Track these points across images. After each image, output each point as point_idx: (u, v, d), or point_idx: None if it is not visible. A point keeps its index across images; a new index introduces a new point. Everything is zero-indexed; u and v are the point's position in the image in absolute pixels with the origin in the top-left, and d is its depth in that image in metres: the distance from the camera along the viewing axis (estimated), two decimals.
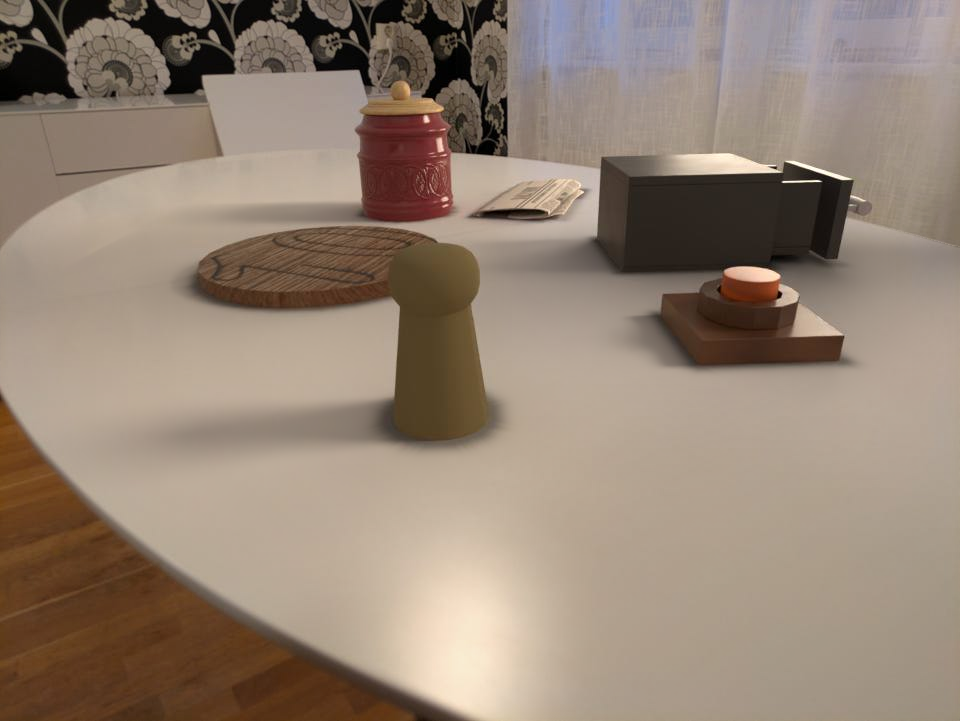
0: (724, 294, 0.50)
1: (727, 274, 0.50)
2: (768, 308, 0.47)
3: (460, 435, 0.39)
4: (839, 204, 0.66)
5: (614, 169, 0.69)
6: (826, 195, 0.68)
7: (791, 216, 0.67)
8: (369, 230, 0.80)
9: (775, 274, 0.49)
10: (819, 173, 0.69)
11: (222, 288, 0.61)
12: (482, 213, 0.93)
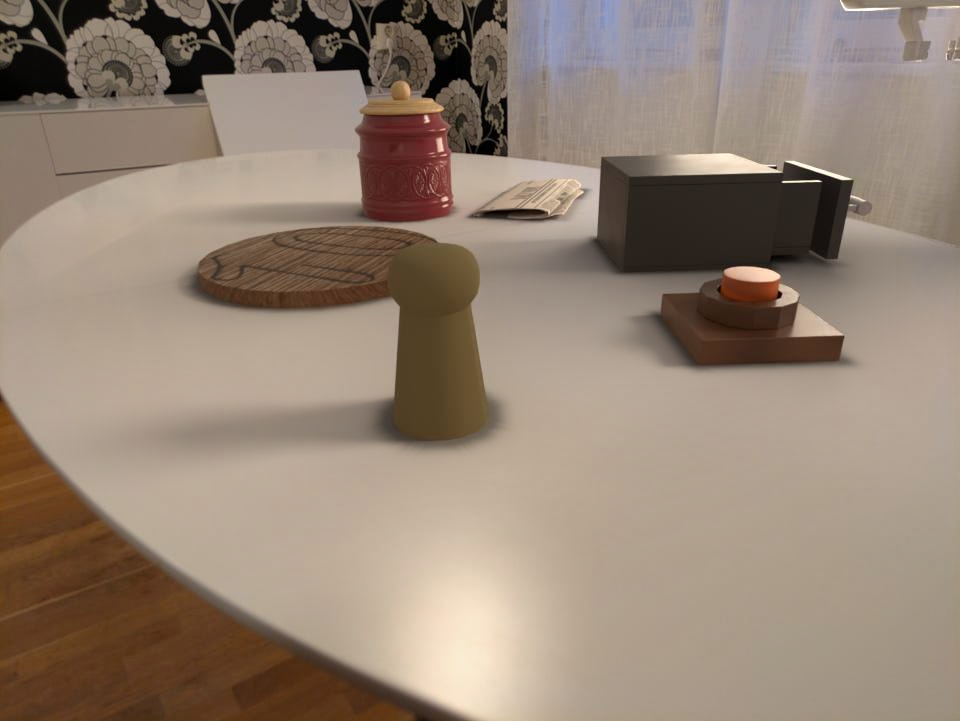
0: (724, 294, 0.50)
1: (727, 274, 0.50)
2: (768, 308, 0.47)
3: (460, 435, 0.39)
4: (839, 204, 0.66)
5: (614, 169, 0.69)
6: (826, 195, 0.68)
7: (791, 216, 0.67)
8: (369, 230, 0.80)
9: (775, 274, 0.49)
10: (819, 173, 0.69)
11: (222, 288, 0.61)
12: (482, 213, 0.93)
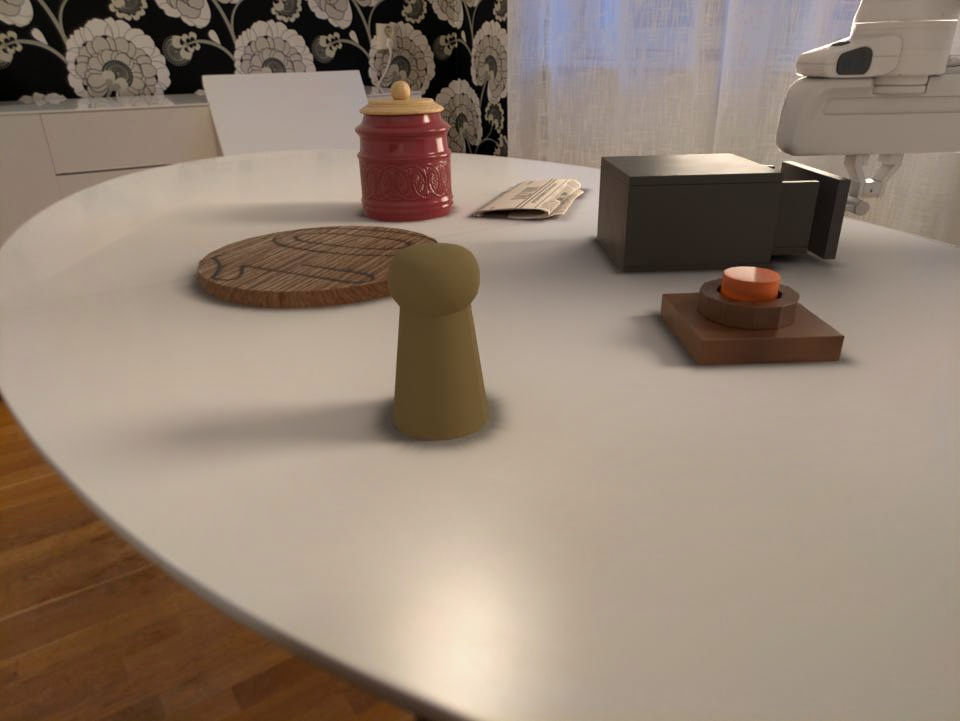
0: (724, 294, 0.50)
1: (727, 274, 0.50)
2: (768, 308, 0.47)
3: (460, 435, 0.39)
4: (837, 204, 0.66)
5: (614, 169, 0.69)
6: (823, 195, 0.68)
7: (788, 216, 0.67)
8: (369, 230, 0.79)
9: (775, 274, 0.49)
10: (817, 173, 0.69)
11: (222, 287, 0.61)
12: (482, 213, 0.93)
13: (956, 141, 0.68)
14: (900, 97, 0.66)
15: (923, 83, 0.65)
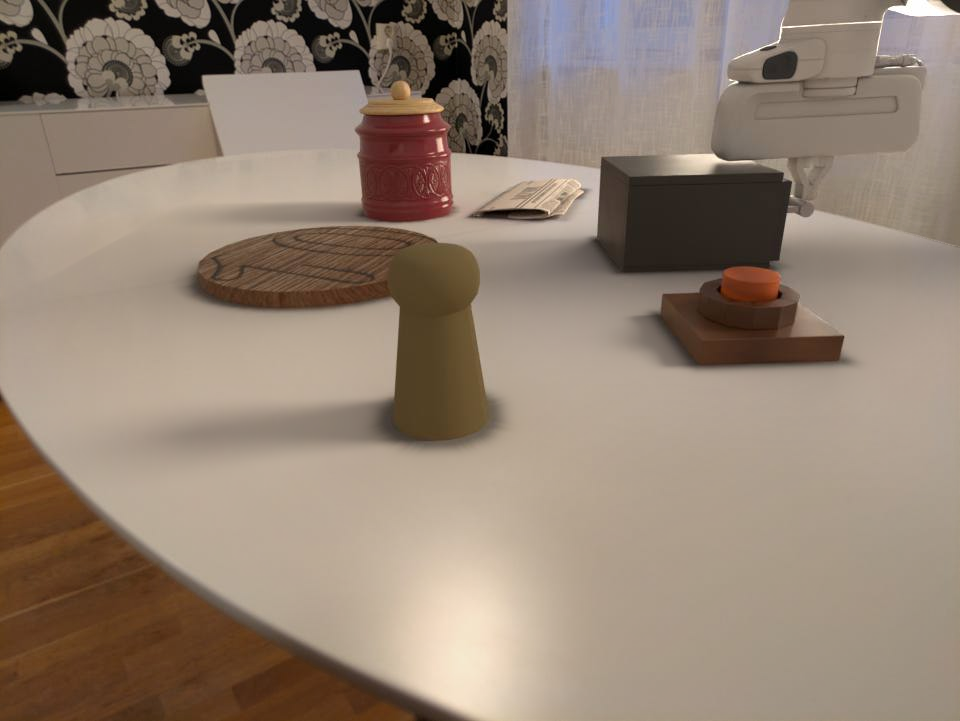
0: (724, 294, 0.50)
1: (727, 274, 0.50)
2: (768, 308, 0.47)
3: (460, 435, 0.39)
4: None
5: (614, 169, 0.69)
6: None
7: None
8: (369, 230, 0.80)
9: (775, 274, 0.49)
10: None
11: (222, 288, 0.61)
12: (482, 213, 0.93)
13: (890, 142, 0.68)
14: (830, 99, 0.66)
15: (852, 85, 0.65)
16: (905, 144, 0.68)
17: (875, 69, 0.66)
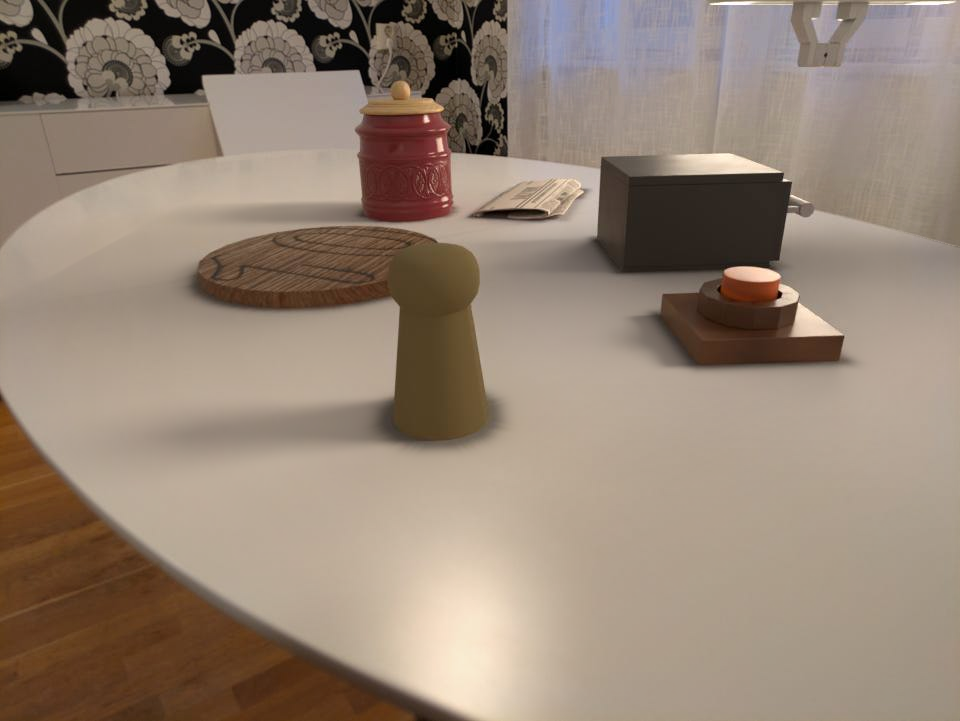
0: (724, 294, 0.50)
1: (727, 274, 0.50)
2: (768, 308, 0.47)
3: (460, 435, 0.39)
4: None
5: (614, 169, 0.69)
6: None
7: None
8: (369, 230, 0.79)
9: (775, 274, 0.49)
10: None
11: (222, 287, 0.61)
12: (482, 213, 0.93)
13: None
14: None
15: None
16: None
17: None
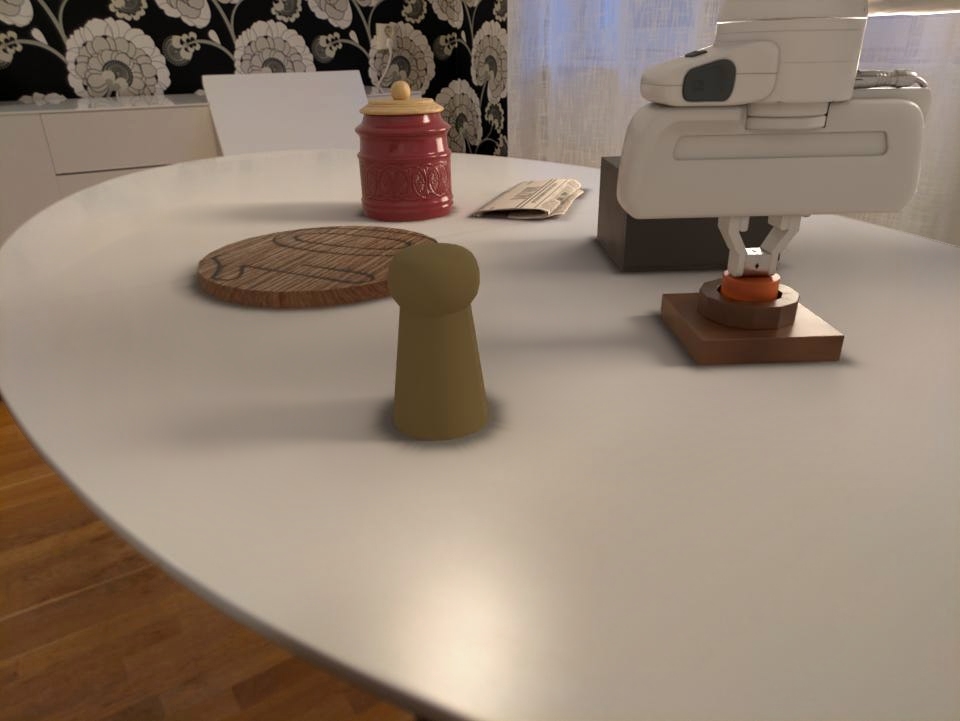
0: (724, 295, 0.50)
1: (727, 275, 0.50)
2: (768, 308, 0.47)
3: (460, 435, 0.39)
4: None
5: (614, 169, 0.69)
6: None
7: None
8: (369, 230, 0.79)
9: (775, 275, 0.50)
10: None
11: (222, 287, 0.61)
12: (482, 213, 0.93)
13: (876, 198, 0.46)
14: (788, 134, 0.44)
15: (819, 113, 0.43)
16: (897, 202, 0.46)
17: (856, 90, 0.44)
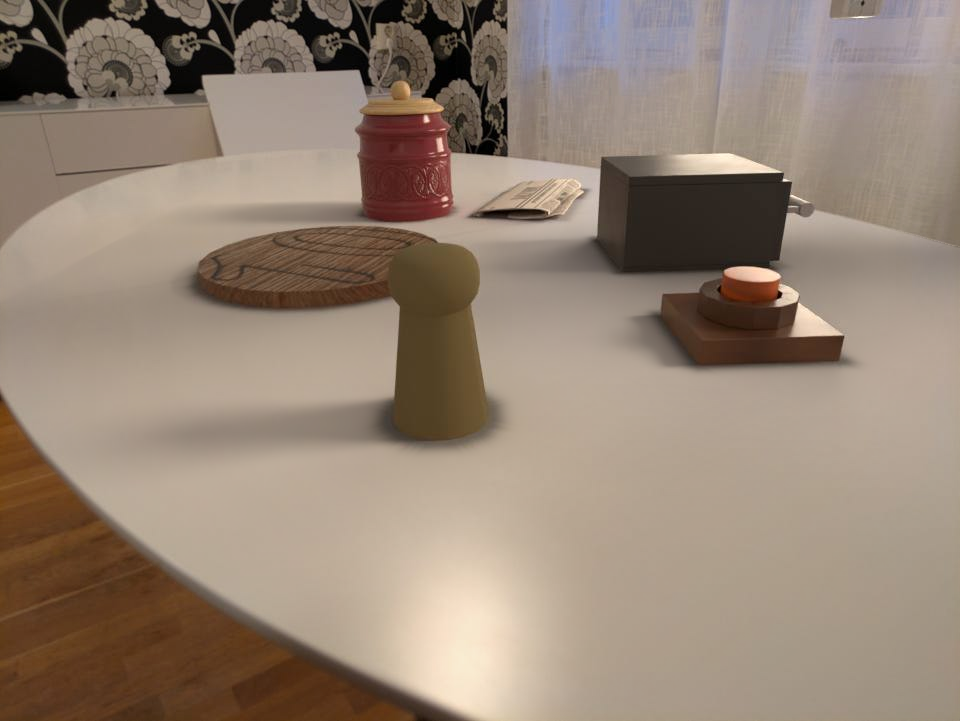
0: (724, 294, 0.50)
1: (727, 274, 0.50)
2: (768, 308, 0.47)
3: (460, 435, 0.39)
4: None
5: (614, 169, 0.69)
6: None
7: None
8: (369, 230, 0.80)
9: (775, 274, 0.49)
10: None
11: (222, 287, 0.61)
12: (482, 213, 0.93)
13: None
14: None
15: None
16: None
17: None
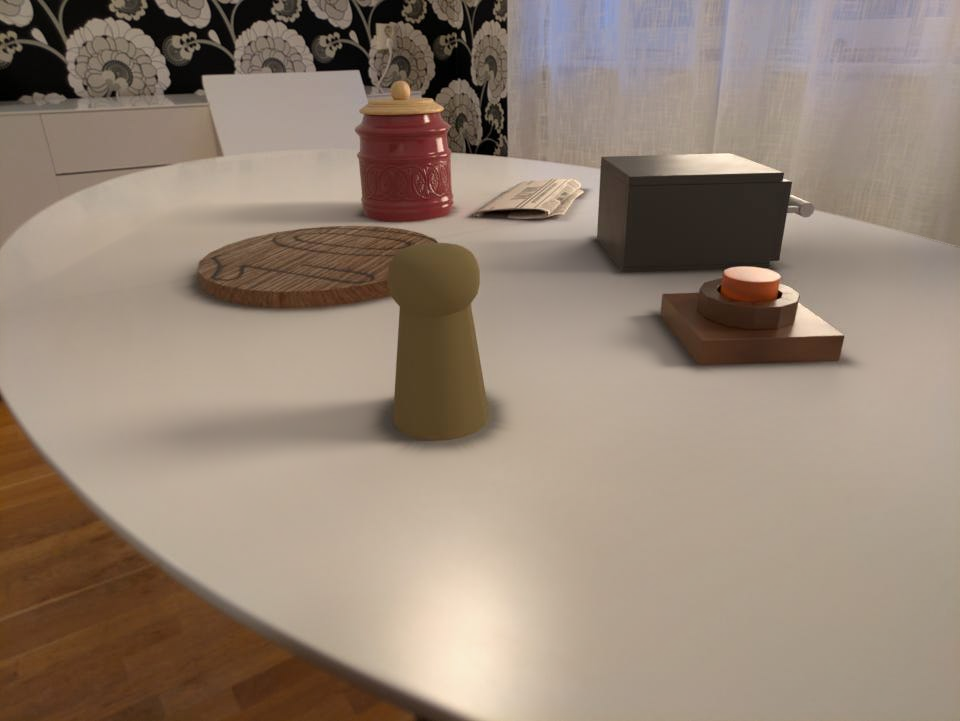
0: (724, 294, 0.50)
1: (727, 274, 0.50)
2: (768, 308, 0.47)
3: (460, 435, 0.39)
4: None
5: (614, 169, 0.69)
6: None
7: None
8: (369, 230, 0.79)
9: (775, 274, 0.49)
10: None
11: (222, 288, 0.61)
12: (482, 213, 0.93)
13: None
14: None
15: None
16: None
17: None
